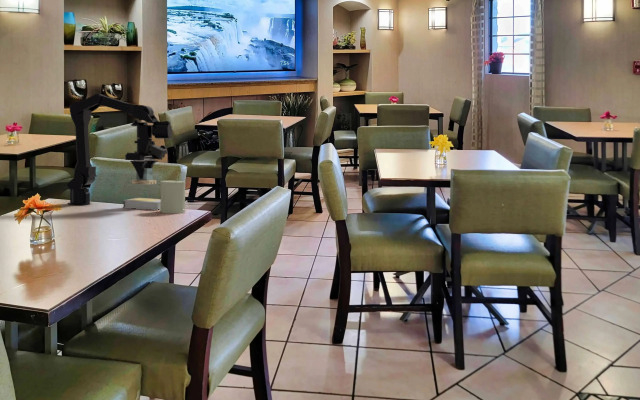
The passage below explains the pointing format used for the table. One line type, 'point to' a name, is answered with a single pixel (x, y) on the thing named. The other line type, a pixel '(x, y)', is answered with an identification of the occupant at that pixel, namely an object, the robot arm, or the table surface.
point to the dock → (143, 203)
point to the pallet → (145, 177)
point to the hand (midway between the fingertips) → (144, 178)
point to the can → (172, 197)
